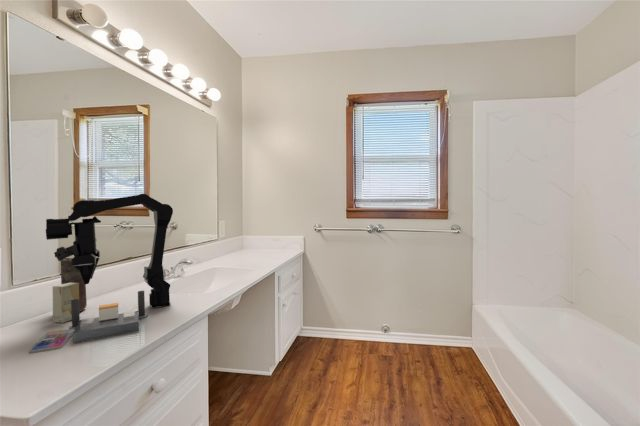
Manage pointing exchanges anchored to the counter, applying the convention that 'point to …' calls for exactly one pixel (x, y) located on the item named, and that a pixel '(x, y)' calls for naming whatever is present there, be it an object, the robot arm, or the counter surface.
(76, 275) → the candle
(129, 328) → the panel
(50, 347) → the smartphone
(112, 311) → the slider
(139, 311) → the post
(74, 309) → the post
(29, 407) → the counter surface
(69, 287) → the skincare box
